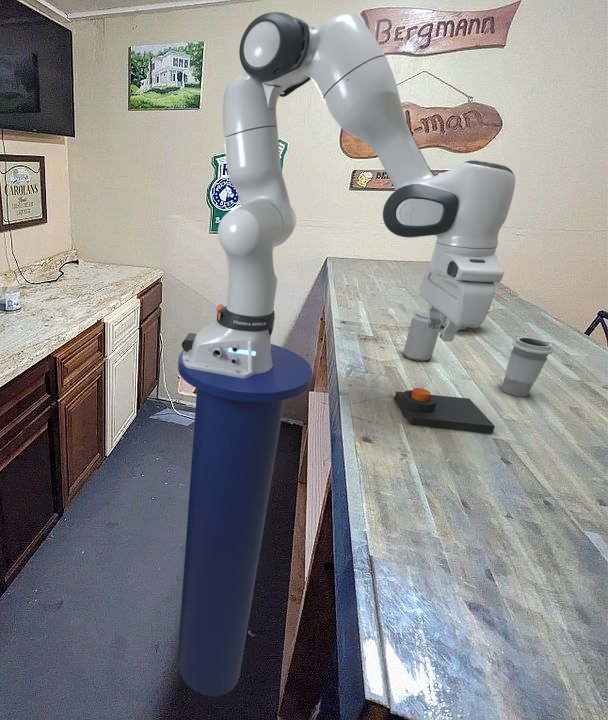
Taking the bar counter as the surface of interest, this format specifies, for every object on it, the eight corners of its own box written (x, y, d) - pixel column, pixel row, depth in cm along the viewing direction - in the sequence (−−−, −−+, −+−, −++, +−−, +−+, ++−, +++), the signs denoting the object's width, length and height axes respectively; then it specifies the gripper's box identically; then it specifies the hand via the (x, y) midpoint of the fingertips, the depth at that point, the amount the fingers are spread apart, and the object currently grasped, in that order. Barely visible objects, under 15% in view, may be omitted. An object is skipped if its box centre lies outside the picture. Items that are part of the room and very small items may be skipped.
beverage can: (431, 364, 115) (444, 319, 110) (402, 358, 118) (414, 314, 113) (430, 355, 120) (443, 311, 115) (402, 350, 123) (414, 308, 118)
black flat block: (408, 424, 89) (412, 408, 88) (392, 397, 99) (395, 383, 98) (492, 433, 86) (498, 417, 85) (467, 405, 96) (472, 390, 95)
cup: (541, 400, 98) (563, 349, 93) (506, 397, 99) (526, 346, 94) (521, 385, 104) (541, 336, 99) (489, 383, 105) (507, 334, 101)
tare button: (413, 401, 91) (415, 393, 90) (408, 394, 94) (411, 386, 93) (430, 403, 91) (432, 395, 90) (425, 396, 93) (427, 388, 92)
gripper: (421, 249, 91) (403, 315, 96) (464, 272, 73) (440, 352, 78) (456, 250, 89) (437, 317, 95) (510, 274, 71) (482, 355, 77)
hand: (438, 333), depth 87 cm, fingers open, 5 cm apart
